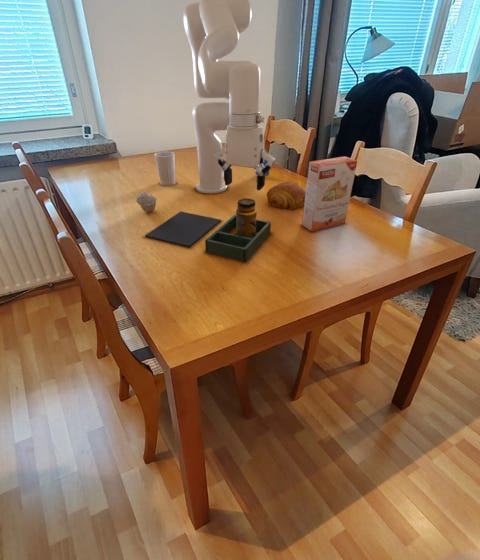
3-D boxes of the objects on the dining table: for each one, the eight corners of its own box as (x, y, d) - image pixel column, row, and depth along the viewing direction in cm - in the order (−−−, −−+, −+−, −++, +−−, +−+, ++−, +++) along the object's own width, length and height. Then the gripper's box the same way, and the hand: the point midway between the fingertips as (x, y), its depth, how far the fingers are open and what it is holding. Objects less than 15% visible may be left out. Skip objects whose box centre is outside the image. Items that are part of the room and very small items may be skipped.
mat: (180, 213, 125) (180, 211, 124) (221, 221, 119) (220, 219, 119) (145, 237, 110) (145, 235, 109) (189, 247, 104) (189, 246, 104)
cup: (154, 184, 148) (150, 155, 141) (164, 178, 154) (161, 150, 148) (171, 187, 146) (167, 157, 139) (180, 181, 152) (178, 152, 145)
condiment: (261, 239, 108) (263, 202, 101) (238, 247, 104) (238, 209, 98) (248, 230, 113) (248, 194, 106) (225, 237, 109) (224, 200, 103)
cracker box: (312, 233, 112) (320, 166, 100) (301, 225, 116) (307, 161, 104) (346, 224, 117) (358, 159, 105) (334, 217, 122) (344, 154, 110)
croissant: (260, 208, 133) (258, 188, 128) (285, 191, 141) (284, 172, 136) (291, 218, 125) (290, 197, 120) (316, 200, 133) (316, 180, 128)
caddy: (234, 226, 116) (234, 214, 114) (270, 233, 111) (270, 222, 109) (205, 252, 102) (204, 240, 99) (245, 262, 97) (245, 249, 95)
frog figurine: (136, 210, 127) (133, 191, 123) (156, 207, 129) (153, 188, 125) (139, 216, 122) (136, 197, 118) (160, 213, 124) (157, 194, 120)
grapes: (277, 179, 154) (279, 151, 147) (265, 182, 151) (266, 153, 144) (261, 172, 162) (262, 145, 155) (249, 175, 158) (250, 147, 152)
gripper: (281, 120, 89) (277, 186, 99) (220, 115, 95) (222, 178, 105) (270, 125, 84) (268, 195, 93) (207, 120, 90) (210, 186, 99)
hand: (244, 186), depth 99 cm, fingers open, 9 cm apart
